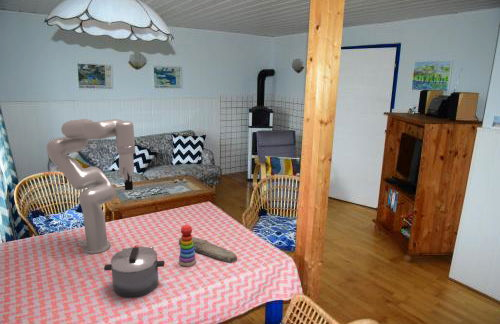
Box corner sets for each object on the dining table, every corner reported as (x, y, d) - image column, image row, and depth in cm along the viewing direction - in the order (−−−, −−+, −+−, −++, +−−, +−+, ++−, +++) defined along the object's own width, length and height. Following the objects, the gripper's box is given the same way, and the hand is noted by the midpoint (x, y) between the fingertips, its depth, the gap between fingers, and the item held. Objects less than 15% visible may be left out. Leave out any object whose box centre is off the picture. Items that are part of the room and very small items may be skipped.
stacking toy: (199, 262, 165) (198, 226, 161) (185, 269, 160) (183, 231, 155) (189, 256, 171) (188, 220, 166) (175, 262, 165) (174, 225, 161)
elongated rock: (229, 269, 163) (240, 261, 172) (230, 259, 162) (241, 251, 170) (173, 245, 181) (186, 238, 189) (174, 235, 180) (187, 229, 188)
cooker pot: (101, 300, 137) (98, 273, 134) (112, 273, 156) (110, 248, 153) (163, 295, 141) (162, 269, 138) (166, 269, 160) (165, 245, 157)
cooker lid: (106, 274, 135) (105, 266, 134) (116, 251, 152) (115, 243, 151) (154, 271, 138) (154, 263, 137) (159, 248, 155) (158, 241, 154)
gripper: (120, 146, 160) (123, 184, 165) (113, 153, 146) (116, 195, 151) (137, 146, 161) (140, 184, 166) (132, 153, 147) (135, 194, 152)
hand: (129, 189), depth 158 cm, fingers closed
